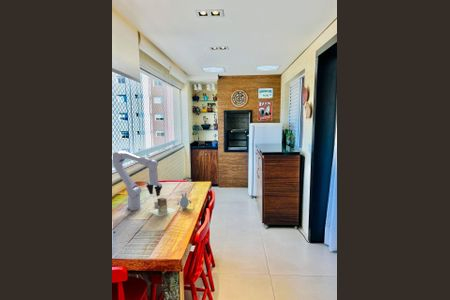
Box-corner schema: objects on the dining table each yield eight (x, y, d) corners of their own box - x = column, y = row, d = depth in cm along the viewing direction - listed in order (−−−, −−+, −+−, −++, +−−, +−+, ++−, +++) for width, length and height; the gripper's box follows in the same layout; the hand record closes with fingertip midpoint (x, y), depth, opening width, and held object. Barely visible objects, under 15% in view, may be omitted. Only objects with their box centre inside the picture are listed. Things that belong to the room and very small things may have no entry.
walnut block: (157, 205, 167) (157, 199, 166) (163, 203, 170) (162, 197, 170) (161, 206, 164) (160, 200, 163) (166, 204, 167) (166, 198, 167)
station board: (148, 212, 167) (148, 211, 167) (165, 206, 178) (165, 206, 177) (159, 217, 158) (159, 216, 158) (177, 211, 168) (176, 210, 168)
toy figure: (190, 206, 177) (190, 191, 175) (192, 209, 171) (192, 193, 170) (176, 209, 173) (175, 193, 171) (178, 212, 167) (177, 195, 166)
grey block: (154, 207, 177) (154, 201, 176) (158, 205, 181) (158, 199, 180) (159, 208, 175) (159, 202, 174) (163, 206, 179) (163, 200, 178)
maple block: (158, 211, 167) (158, 205, 167) (163, 209, 171) (163, 203, 170) (161, 212, 164) (161, 206, 164) (167, 210, 168) (167, 204, 167)
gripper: (142, 176, 172) (143, 194, 174) (155, 179, 164) (156, 198, 166) (150, 174, 178) (151, 192, 180) (163, 177, 170) (164, 195, 171)
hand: (154, 194), depth 173 cm, fingers open, 7 cm apart
